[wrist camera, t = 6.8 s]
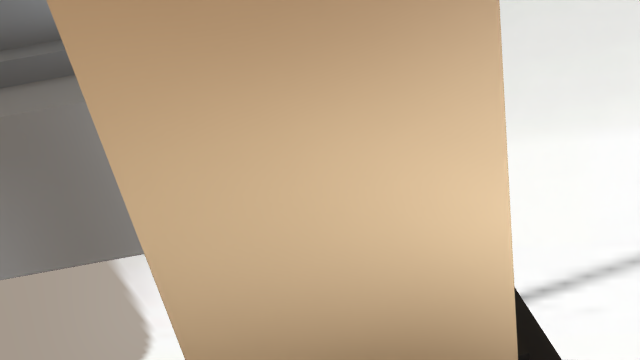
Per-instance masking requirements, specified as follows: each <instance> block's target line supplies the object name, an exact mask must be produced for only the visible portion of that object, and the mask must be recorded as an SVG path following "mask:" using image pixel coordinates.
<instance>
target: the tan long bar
mask: <svg viewBox="0 0 640 360" xmlns="http://www.w3.org/2000/svg"><path fill="white" fill-rule="evenodd" d="M47 3H48V6H49V8H50V11H51V13H52V16H53V19H54V21H55V24H56V26H57V29H58V32H59V34H60V37H61V39H62V42H63V44H64V47H65V50H66V52H67V55H68V57H69V60H70V63H71V65H72V68H73V70H74V73H75V76H76V78H77V81H78V83H79V86H80V88H81V91H82V94H83V96H84V99H85V101H86V104H87V107H88V109H89V112H90V114H91V117H92V120H93V122H94V125H95V127H96V130H97V132H98V135H99V138H100V140H101V143H102V145H103V148H104V151H105V153H106V156H107V158H108V161H109V164H110V166H111V169H112V171H113V174H114V176H115V179H116V182H117V184H118V187H119V189H120V192H121V195H122V197H123V200H124V202H125V205H126V207H127V210H128V213H129V215H130V218H131V220H132V223H133V226H134V228H135V231H136V233H137V236H138V239H139V241H140V244H141V246H142V249H143V251H144V254H145V257H146V259H147V262H148V264H149V267H150V270H151V272H152V275H153V277H154V280H155V283H156V285H157V288H158V290H159V293H160V295H161V298H162V301H163V303H164V306H165V308H166V311H167V314H168V316H169V319H170V321H171V324H172V327H173V329H174V332H175V334H176V337H177V339H178V342H179V345H180V347H181V350H182V352H183V355H184V358H185V360H518V348H517V329H516V310H515V291H514V272H513V253H512V234H511V215H510V196H509V177H508V158H507V139H506V120H505V101H504V82H503V63H502V44H501V25H500V6H499V0H47Z"/></svg>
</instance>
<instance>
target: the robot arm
mask: <svg viewBox="0 0 640 360" xmlns="http://www.w3.org/2000/svg"><path fill="white" fill-rule="evenodd" d="M514 291H515V310H516V329H517V348H518V360H561V358H560V356H559V355H558V353H557V352H556V350H555V349H554V347H553V346H552V344H551V343H550V341H549V340H548V338H547V336H546V335H545V333H544V332H543V330H542V329H541V327H540V326H539V324H538V323H537V321H536V320H535V318H534V316H533V315H532V313H531V312H530V310H529V309H528V307H527V306H526V304H525V303H524V301H523V300H522V298H521V297H520V295H519V293H518V292H517V290H516V289H515V287H514Z"/></svg>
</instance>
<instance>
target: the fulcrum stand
mask: <svg viewBox="0 0 640 360" xmlns="http://www.w3.org/2000/svg"><path fill="white" fill-rule="evenodd" d="M141 254H144V251H143V249H142V246H141V244H140V241H139V239H138V236H137V233H136V231H135V228H134V226H133V223H132V220H131V218H130V215H129V213H128V210H127V207H126V205H125V202H124V200H123V197H122V195H121V192H120V189H119V187H118V184H117V182H116V179H115V176H114V174H113V171H112V169H111V166H110V164H109V161H108V158H107V156H106V153H105V151H104V148H103V145H102V143H101V140H100V138H99V135H98V132H97V130H96V127H95V125H94V122H93V120H92V117H91V114H90V112H89V109H88V107H87V104H86V101H85V99H84V96H83V94H82V91H81V88H80V86H79V83H78V81H77V78H76V76H75V73H74V70H73V68H72V65H71V63H70V60H69V57H68V55H67V52H66V50H65V47H64V44H63V42H62V39H61V37H60V34H59V32H58V29H57V26H56V24H55V21H54V19H53V16H52V13H51V11H50V8H49V6H48V3H47V0H0V280H4V279H10V278H14V277H20V276H26V275H32V274H37V273H42V272H47V271H53V270H58V269H64V268H70V267H75V266H81V265H86V264H92V263H97V262H102V261H108V260H114V259H119V258H125V257H130V256H136V255H141Z"/></svg>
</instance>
